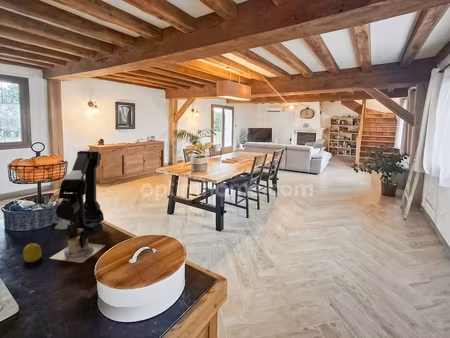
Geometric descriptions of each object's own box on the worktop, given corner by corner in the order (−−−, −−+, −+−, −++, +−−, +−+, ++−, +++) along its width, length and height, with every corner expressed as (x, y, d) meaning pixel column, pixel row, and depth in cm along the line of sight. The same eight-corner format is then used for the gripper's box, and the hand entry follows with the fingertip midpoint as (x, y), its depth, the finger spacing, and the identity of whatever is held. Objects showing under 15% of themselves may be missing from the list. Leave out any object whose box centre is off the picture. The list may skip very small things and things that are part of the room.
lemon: (32, 268, 93) (30, 247, 92) (20, 265, 94) (17, 245, 93) (46, 260, 99) (44, 240, 97) (34, 258, 100) (31, 239, 98)
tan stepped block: (77, 243, 108) (76, 230, 107) (98, 246, 107) (97, 233, 106) (58, 255, 99) (56, 241, 98) (81, 258, 97) (79, 244, 96)
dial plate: (76, 244, 111) (76, 241, 111) (106, 248, 109) (105, 245, 108) (49, 261, 98) (49, 257, 97) (82, 266, 95) (81, 262, 95)
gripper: (36, 214, 93) (40, 254, 96) (82, 219, 90) (85, 260, 93) (61, 204, 104) (64, 240, 107) (102, 209, 101) (104, 245, 104)
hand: (78, 246), depth 102 cm, fingers closed on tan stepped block, 3 cm apart
